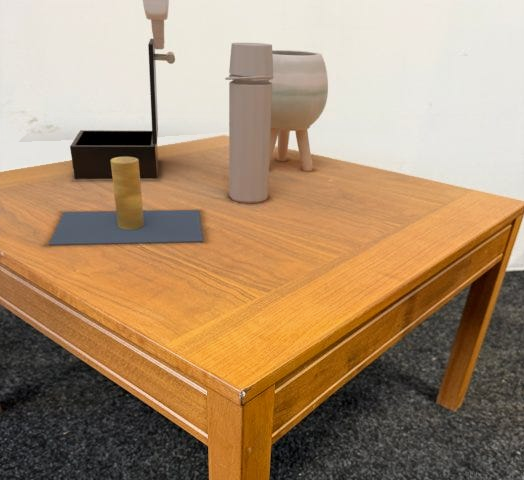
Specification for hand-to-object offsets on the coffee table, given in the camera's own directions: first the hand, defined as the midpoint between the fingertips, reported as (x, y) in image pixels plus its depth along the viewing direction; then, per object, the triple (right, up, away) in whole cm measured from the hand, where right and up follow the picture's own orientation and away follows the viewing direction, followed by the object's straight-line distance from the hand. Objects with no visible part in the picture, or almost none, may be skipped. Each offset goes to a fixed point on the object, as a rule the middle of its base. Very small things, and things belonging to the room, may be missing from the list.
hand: (159, 47), depth 102 cm
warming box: (-10, -20, +11) cm, 25 cm away
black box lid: (-2, -6, +4) cm, 8 cm away
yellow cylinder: (-1, -37, -16) cm, 40 cm away
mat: (-2, -37, -16) cm, 41 cm away
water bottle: (+16, -28, 0) cm, 33 cm away
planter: (+24, -17, +19) cm, 34 cm away
